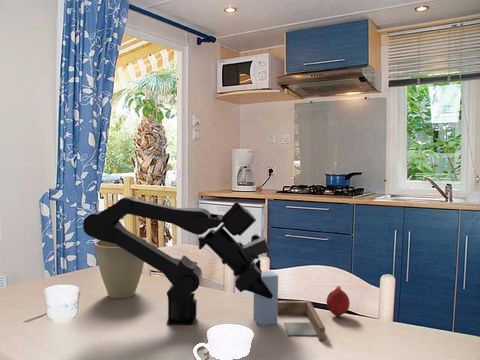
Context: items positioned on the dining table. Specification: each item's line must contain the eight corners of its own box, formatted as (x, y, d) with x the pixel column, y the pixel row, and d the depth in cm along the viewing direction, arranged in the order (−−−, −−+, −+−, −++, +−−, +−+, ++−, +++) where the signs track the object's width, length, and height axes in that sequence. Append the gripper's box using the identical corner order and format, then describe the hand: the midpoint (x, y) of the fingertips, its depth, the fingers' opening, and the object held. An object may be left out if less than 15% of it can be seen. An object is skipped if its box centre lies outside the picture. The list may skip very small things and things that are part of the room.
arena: (282, 340, 90) (283, 327, 90) (274, 312, 107) (274, 300, 107) (324, 340, 90) (325, 327, 90) (309, 311, 107) (310, 300, 107)
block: (260, 326, 98) (261, 277, 97) (253, 319, 102) (254, 272, 101) (277, 323, 99) (278, 275, 99) (269, 316, 104) (270, 270, 103)
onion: (349, 322, 101) (350, 290, 100) (326, 320, 102) (326, 288, 101) (348, 313, 106) (349, 283, 106) (326, 311, 108) (326, 282, 107)
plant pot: (84, 297, 117) (83, 242, 117) (123, 284, 130) (123, 235, 129) (119, 307, 109) (119, 249, 109) (158, 292, 122) (157, 240, 121)
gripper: (250, 233, 90) (298, 282, 91) (250, 220, 109) (290, 261, 109) (215, 267, 91) (263, 316, 91) (221, 249, 110) (261, 289, 110)
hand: (271, 293), depth 100 cm, fingers closed on block, 6 cm apart
